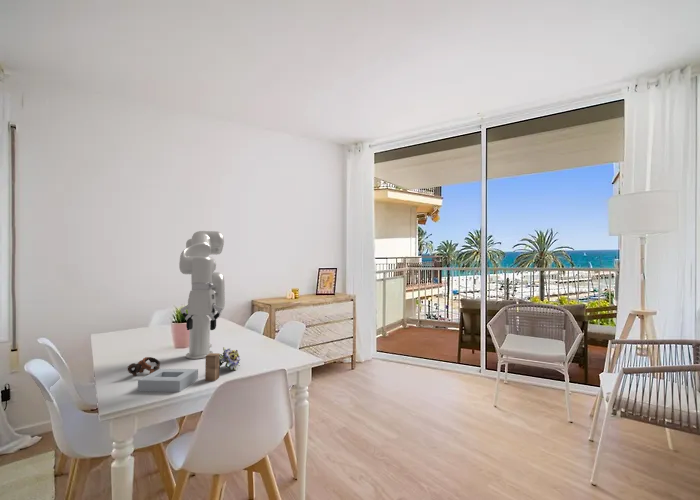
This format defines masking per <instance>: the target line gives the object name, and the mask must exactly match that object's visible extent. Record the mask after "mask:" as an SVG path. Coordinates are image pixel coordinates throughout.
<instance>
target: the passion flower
mask: <svg viewBox="0 0 700 500" xmlns="http://www.w3.org/2000/svg"><path fill="white" fill-rule="evenodd" d="M222 350H223V352H222V353H219V370H220V369H221V366H222V365H223V364H224V363H225V365H224V366H225V368H228V369H229V370H230V371H235V372H236V371H237V369H238V366H239V367H240V366H241V363H240V362H241V356H240V355H239V352H238V350H237V349H231V348H226V347H222Z"/></svg>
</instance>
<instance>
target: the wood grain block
mask: <svg viewBox="0 0 700 500" xmlns="http://www.w3.org/2000/svg"><path fill="white" fill-rule="evenodd" d="M219 354H220V353H218V352H217V353H214V352H213V353H210V354H208V355H206V358H205V366H204V367H205V371H204V372H205V376H204V377H205V379H204V380H205V382H216V381H217V380H218V379H219V378H220V369H219V358H220V357H219Z"/></svg>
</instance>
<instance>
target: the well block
mask: <svg viewBox="0 0 700 500" xmlns="http://www.w3.org/2000/svg"><path fill="white" fill-rule="evenodd" d="M197 380H199V369H198V368H159V369H158V370H157V371H155V372H153V373H151V374H149V373H148V375H145V376H144V377H141V378H140V379H137V392H160V393H161V392H164V393H165V392H166V393H168V392H170V393H173V392H175V393H177V392H178V393H180V392H182V391H183V390H185V389H186V388H187V387H188V386H190V385H192V384H193V383H195V382H196V381H197Z"/></svg>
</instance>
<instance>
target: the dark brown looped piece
mask: <svg viewBox="0 0 700 500" xmlns="http://www.w3.org/2000/svg"><path fill="white" fill-rule="evenodd" d="M147 362H149V363H150V364H151V363H153V364H154V363H155V365H153V368H152V365H150V364H148V363H147ZM160 366H161V362H160V361H159V360H158V359H157V358H155V357H153V356H151V357H150V356H146V357H143V359H142V360H139V362H137V363H135V362H134V363H131V364H129V366H127V372H128V373H129V374H131V375H132V377H136V376H137V373H138V374H139V373H144V371H145V370H146V371H149V372H148V375H149V374H151V373H153V372H155V371H157V370H158V369H161V367H160Z"/></svg>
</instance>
